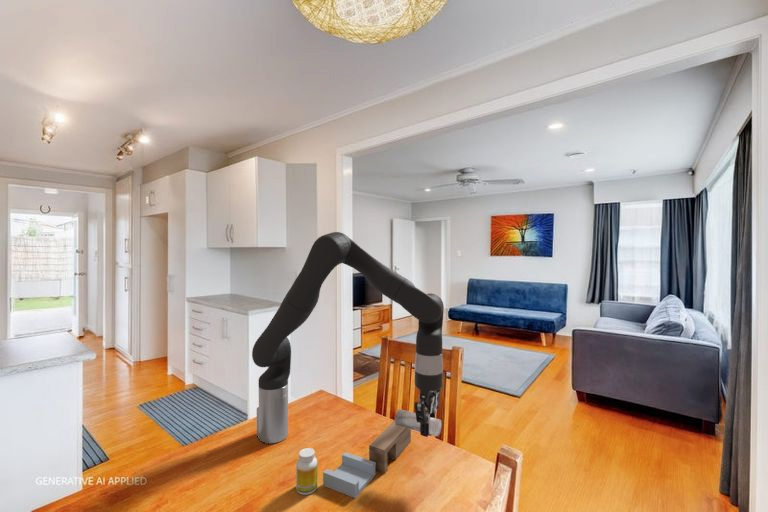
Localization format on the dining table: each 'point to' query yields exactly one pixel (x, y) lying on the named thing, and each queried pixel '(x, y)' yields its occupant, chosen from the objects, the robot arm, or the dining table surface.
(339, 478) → the cradle
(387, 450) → the beam
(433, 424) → the axle
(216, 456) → the dining table surface
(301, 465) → the supplement bottle
